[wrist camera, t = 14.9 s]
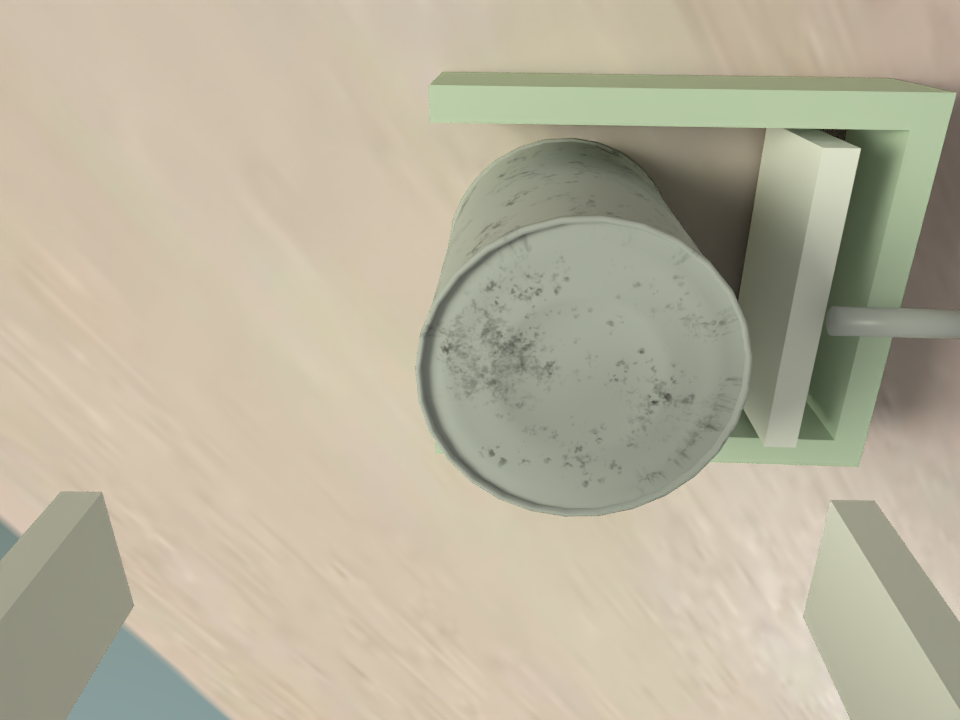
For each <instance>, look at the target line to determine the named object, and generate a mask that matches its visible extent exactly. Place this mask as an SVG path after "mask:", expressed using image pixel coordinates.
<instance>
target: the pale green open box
mask: <svg viewBox="0 0 960 720" xmlns="http://www.w3.org/2000/svg"><path fill="white" fill-rule="evenodd" d="M956 94H957V93H956V92H951V91H946V90H942V89H937V88H932V87H928V86H923V85H919V84H914V83H909V82H905V81H900V80H895V79H891V78H843V77H771V76H699V75H627V74H555V73H483V72H442V73H441V74H440V75H439V76H438V77H437V78H436V79H435V80H434V81H433V82H432V83H431V84H430V85H429V108H430V122H433V123H495V124H556V125H618V126H679V127H741V128H802V129H847V130H846V135H845V140H844V141H845V142H847V143H850V144H852V145H854V146H857V147H859V148H861V151H860V155H859V160H858V165H857V169H856V174H855V178H854V183H853V188H852V192H851V197H850V201H849V206H848V210H847V215H846V220H845V224H844V229H843V233H842V238H841V243H840V247H839V252H838V256H837V261H836V266H835V270H834V275H833V279H832V284H831V289H830V293H829V298H828V302H827V307H826V312H825V316H824V321H823V325H822V330H821V335H820V339H819V344H818V348H817V353H816V358H815V362H814V367H813V371H812V376H811V381H810V385H809V390H808V394H807V399H806V404H805V408H804V413H803V417H802V422H801V427H800V431H799V436H798V440H797V445H796V448H793V447H764V445H763V444H762V442H761V440H760V438H759V436H758V434H757V433H756V431H755V429H754V427H753V425H752V424H751V422H750V420H749V418H748V416H747V414H746V413H745V411H744V409H743V410H742V413H741V416H740V418H739V421H738V424H737V426H736V427H735V429H734V430H733V432H732V433H731V435H730V436H729V438H728V439H727V441H726V442H725V444H724V445H723V447H722V449H721V450H720V452H719V453H718V454H717V455H716V456H715V457H714V458H713V459H712V460H711V461H710V462H723V463H754V464H786V465H817V466H848V467H859V464H860V460H861V456H862V452H863V449H864V445H865V441H866V437H867V433H868V429H869V426H870V422H871V418H872V414H873V410H874V407H875V403H876V399H877V395H878V391H879V387H880V384H881V380H882V376H883V372H884V368H885V365H886V361H887V357H888V353H889V349H890V345H891V342H892V338H893V337H861V336H831V335H829V334H828V332H827V328H826V317H827V313H828V311H829V309H830V308H831V307H832V306H839V307H880V308H900V307H901V303H902V300H903V296H904V292H905V288H906V284H907V281H908V277H909V273H910V269H911V265H912V262H913V258H914V254H915V250H916V246H917V242H918V239H919V235H920V231H921V227H922V223H923V220H924V216H925V212H926V208H927V204H928V200H929V197H930V193H931V189H932V185H933V181H934V178H935V174H936V170H937V166H938V162H939V158H940V155H941V151H942V147H943V143H944V139H945V136H946V132H947V128H948V124H949V120H950V116H951V113H952V109H953V105H954V101H955V97H956ZM436 453H440V454H444V453H443V451H442V450H441V448H440V447H439V445H438V444H437V442H436Z"/></svg>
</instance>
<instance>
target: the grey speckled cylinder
mask: <svg viewBox="0 0 960 720" xmlns="http://www.w3.org/2000/svg"><path fill="white" fill-rule="evenodd" d="M752 360H753V356H752V349H751V343H750V336H749V330H748V323H747V321H746V319H745V316H744V314H743V312H742V310H741V307H740V305H739V303H738V301H737V298H736V296H735V294H734V291H733V290H732V288H731V287H730V286H729V285H728V283H727V282H726V281H725V280H724V278H723V277H722V276H721V275H720V273H719V272H718V271H717V270H716V268H715V267H714V266H713V265H712V263H711V262H710V261H709V260H708V259H707V258H705V257H704V256H703V255H702V253H701V252H700V250H699V249H698V248H697V246H696V245H695V244H694V242H693V241H692V239H691V238H690V237H689V235H688V234H687V232H686V231H685V230H684V228H683V227H682V226H681V224H680V223H679V221H678V220H677V219H676V217H675V216H674V214H673V213H672V212H671V210H670V209H669V208H668V206H667V205H666V203H665V202H664V201H663V198H662V196H661V194H660V192H659V190H658V188H657V187H656V186H655V185H654V183H653V182H652V181H651V180H650V178H649V177H648V176H647V175H646V173H645V172H644V171H643V169H641V168H640V167H639V166H638V165H636V164H635V163H634V162H632V161H631V160H630V159H628V158H627V157H626V156H625V155H623V154H622V153H620V152H617V151H615V150H613V149H611V148H608V147H606V146H604V145H602V144H599V143H596V142H590V141H585V140H579V139H574V138H565V139H546V140H542V141H538V142H535V143H531V144H528V145H524V146H521V147H518V148H517V149H515V150H513V151H511V152H509V153H508V154H506V155H504V156H502V157H500V158H499V159H497V160H495V161H494V162H493V163H492V164H491V165H490V166H489V167H488V168H487V169H485V170H484V171H483V172H482V173H481V174H480V175H479V176H478V177H477V178H476V179H475V181H474V182H473V183H472V185H471V186H470V188H469V189H468V190H467V192H466V193H465V195H464V196H463V198H462V200H461V202H460V205H459V207H458V210H457V212H456V215H455V217H454V219H453V223H452V229H451V236H450V242H449V245H448V249H447V252H446V256H445V260H444V263H443V267H442V270H441V274H440V278H439V281H438V285H437V288H436V292H435V296H434V299H433V303H432V306H431V309H430V311H429V314H428V316H427V319H426V321H425V324H424V326H423V328H422V331H421V333H420V339H419V346H418V353H417V359H416V366H415V372H416V381H417V391H418V401H419V404H420V407H421V409H422V412H423V415H424V418H425V420H426V423H427V426H428V429H429V431H430V433H431V435H432V436H433V438H434V439H435V441H436V442H437V444H438V445H439V447H440V448H441V450H442V451H443V453H444V454H445V456H446V457H447V459H448V460H449V461H450V462H451V463H452V464H453V465H454V466H455V467H456V468H457V469H458V470H460V471H461V472H462V473H463V474H464V475H465V476H466V477H467V478H468V479H469V480H470V481H471V482H472V483H474V484H476V485H477V486H479V487H480V488H482V489H484V490H485V491H487V492H489V493H490V494H492V495H493V496H495V497H497V498H498V499H500V500H503V501H506V502H508V503H511V504H514V505H516V506H519V507H522V508H524V509H527V510H530V511H534V512H540V513H546V514H553V515H559V516H565V517H566V516H601V515H606V514H611V513H615V512H620V511H625V510H630V509H634V508H636V507H639V506H641V505H644V504H646V503H649V502H651V501H654V500H656V499H659V498H661V497H664V496H666V495H667V494H669V493H670V492H672V491H673V490H675V489H676V488H678V487H680V486H681V485H683V484H684V483H686V482H687V481H689V480H690V479H692V478H693V477H695V476H696V475H697V474H698V473H699V472H700V471H701V470H702V469H703V468H704V467H705V466H706V465H707V464H708V463H709V462H710V461H711V460H712V459H713V458H714V457H715V456H716V455H717V454H718V453H719V452H720V450H721V449H722V447H723V445H724V444H725V442H726V441H727V439H728V438H729V436H730V435H731V433H732V432H733V430H734V429H735V427H736V426H737V424H738V421H739V418H740V416H741V413H742V410H743V407H744V405H745V402H746V399H747V396H748V394H749V389H750V379H751V370H752Z"/></svg>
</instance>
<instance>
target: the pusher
mask: <svg viewBox="0 0 960 720" xmlns="http://www.w3.org/2000/svg"><path fill="white" fill-rule="evenodd" d="M860 151H861V148H859V147H857V146H854V145H852V144H850V143H847V142H845V141H843V140H841V139H838V138H836V137H834V136H831V135H829V134H827V133H825V132H822V131H820V130H818V129H802V128H766V134H765V140H764V146H763V152H762V158H761V165H760V171H759V177H758V183H757V189H756V195H755V201H754V207H753V213H752V219H751V226H750V232H749V238H748V244H747V250H746V256H745V262H744V268H743V274H742V280H741V286H740V293H739V299H738V303H739V305H740V307H741V310H742V312H743V314H744V316H745V319H746V321H747V323H748V330H749V336H750V343H751V349H752V356H753V360H752V370H751V379H750V389H749V394H748V396H747V399H746V402H745V405H744V407H743V409H744V411H745V413H746V414H747V416H748V418H749V420H750V422H751V424H752V425H753V427H754V429H755V431H756V433H757V434H758V436H759V438H760V440H761V442H762V444H763V445H764V447H793V448H796V445H797V440H798V436H799V431H800V427H801V422H802V417H803V413H804V408H805V404H806V399H807V394H808V390H809V385H810V381H811V376H812V371H813V367H814V362H815V358H816V353H817V348H818V344H819V339H820V335H821V330H822V325H823V321H824V316H825V312H826V307H827V302H828V298H829V293H830V289H831V284H832V279H833V275H834V270H835V266H836V261H837V256H838V252H839V247H840V243H841V238H842V233H843V229H844V224H845V220H846V215H847V210H848V206H849V201H850V197H851V192H852V188H853V183H854V178H855V174H856V169H857V165H858V160H859V155H860ZM826 328H827V332H828V334H829V335H831V336H861V337H900V338H939V339H960V309H921V308H880V307H839V306H832V307H831V308H830V309H829V311H828V313H827V317H826Z"/></svg>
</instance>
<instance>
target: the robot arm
mask: <svg viewBox="0 0 960 720" xmlns="http://www.w3.org/2000/svg"><path fill="white" fill-rule="evenodd" d="M133 606H134V604H133V600H132V596H131V593H130V589H129V586H128V582H127V579H126V575H125V572H124V568H123V565H122V561H121V558H120V554H119V550H118V547H117V543H116V540H115V536H114V533H113V529H112V526H111V522H110V519H109V515H108V512H107V508H106V505H105V501H104V497H103V494H102V492H60V493H59V494H58V496H57V497H56V498H55V499H54V500H53V501H52V502H51V504H50V505H49V506H48V507H47V508H46V509H45V510H44V512H43V513H42V514H41V515H40V516H39V517H38V518H37V520H36V521H35V522H34V523H33V524H32V525H31V526H30V528H29V529H28V530H27V531H26V532H25V533H24V534H23V536H22V537H21V538H20V539H19V540H18V541H17V542H16V544H15V545H14V546H13V547H12V548H11V549H10V551H9V552H8V553H7V554H6V555H5V556H4V557H3V559H2V560H1V561H0V720H66V718H67V716H68V715H69V713H70V712H71V710H72V708H73V707H74V705H75V703H76V702H77V700H78V698H79V697H80V695H81V693H82V692H83V690H84V688H85V687H86V685H87V683H88V682H89V680H90V678H91V677H92V675H93V673H94V672H95V670H96V668H97V667H98V665H99V663H100V662H101V660H102V658H103V656H104V655H105V653H106V651H107V650H108V648H109V646H110V645H111V643H112V641H113V640H114V638H115V636H116V635H117V633H118V631H119V630H120V628H121V626H122V625H123V623H124V621H125V620H126V618H127V616H128V615H129V613H130V611H131V610H132V608H133ZM803 618H804V620H805V622H806V624H807V626H808V628H809V631H810V633H811V635H812V637H813V639H814V641H815V644H816V646H817V648H818V650H819V652H820V654H821V657H822V659H823V661H824V663H825V665H826V667H827V670H828V672H829V674H830V676H831V678H832V680H833V683H834V685H835V687H836V689H837V691H838V693H839V696H840V698H841V700H842V702H843V704H844V706H845V709H846V711H847V713H848V715H849V717H850V720H960V622H959V621H958V619H957V618H956V616H955V615H954V613H953V612H952V611H951V609H950V608H949V606H948V605H947V603H946V602H945V601H944V599H943V598H942V596H941V595H940V593H939V592H938V591H937V589H936V588H935V586H934V585H933V583H932V582H931V581H930V579H929V578H928V576H927V575H926V573H925V572H924V571H923V569H922V568H921V566H920V565H919V563H918V562H917V561H916V559H915V558H914V556H913V555H912V553H911V552H910V551H909V549H908V548H907V546H906V545H905V543H904V542H903V541H902V539H901V538H900V536H899V535H898V533H897V532H896V531H895V529H894V528H893V526H892V525H891V523H890V522H889V521H888V519H887V518H886V516H885V515H884V513H883V512H882V511H881V509H880V508H879V506H878V505H877V503H876V502H875V501H858V500H830V505H829V509H828V513H827V517H826V521H825V526H824V530H823V534H822V538H821V543H820V547H819V551H818V555H817V560H816V564H815V568H814V572H813V576H812V581H811V585H810V589H809V593H808V598H807V602H806V606H805V610H804V615H803Z"/></svg>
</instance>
